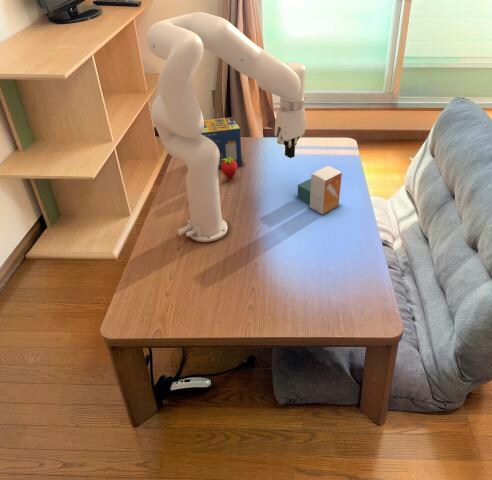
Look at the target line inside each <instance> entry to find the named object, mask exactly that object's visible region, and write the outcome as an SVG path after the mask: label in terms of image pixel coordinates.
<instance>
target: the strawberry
mask: <svg viewBox="0 0 492 480" xmlns="http://www.w3.org/2000/svg"><path fill="white" fill-rule="evenodd" d="M228 157H229V156H228ZM221 160H224V161H223V162H222V163H221V172H222V174H223V175H224V177H226V178H227V179H228V180H229V181H232V180H233V179H234V177H235V175H236V173H237V171H238V166H237V163H236V161H235V159H232V158H231V156H230V157H229V158H228V159H226V158H224V159H221Z"/></svg>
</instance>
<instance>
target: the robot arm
mask: <svg viewBox="0 0 492 480" xmlns="http://www.w3.org/2000/svg"><path fill="white" fill-rule="evenodd" d="M145 39H146V40H145V41H146V46H147V47H148V50H149V51H150V53H152V54H153V55H154V56H155V57H157V58H159V59H162V60H164V64H163V66H162V68H161V71H160V73H159V76H158V79H157V88H158V93H159V94H158V96H157V97H156V98H155V99H154V100H153V103H152V105H151V119H152V122H153V125H154V127H155V129H156V132H157V133H158V136H159V138H160V141H161V143H162V145H163V148H164V149H165V151H166V152H167V154H168V155H169V156H171V157H172V158H174V159H175V160H177V161H179V162H180V163H182V164H183V165H185V166H186V168H187V174H186V176H185V190H186V196H187V204H188V213H189V218H190V219H188V220H187V224H185V226H184V227H180V228H178V229H177V230H176V232H177V234H178V236H182V235H184V234H185V236H186V237H187V238H190V239H192V240H193V241H196V242H202V243H209V242H213V241H214V242H215V241H217V240H220V239H222V238H223V237H225V236H226V234H227V232H228V230H229V229H228V223H227V221H226V220H225V219H223V217H222V204H221V194H220V181H219V169H218V167H219V160H220V152H219V149H218V147H217V145H216V144H215V143H214V142H213V141H212V140H210V139H209V138H207V137H205V136H203V135H201V133H202V131H203V129H204V115H203V113H202V109H201V107H200V104H199V100H198V98H197V95H196V92H195V88H194V84H193V81H194V80H193V79H194V75H195V73H196V72H197V71H196V70H197V69H198V67H199V66H200V63H201V62H202V59H203V57H204V50H207V51H209V52H211V53H213V55H215V56H217V58H219V59H221V60H223V61H224V62H225V63H226V64H228V65H229V66H230V67H232V68H233V69H234V70H236V71H237V72H239V73H241V74H242V75H244V76H246V77H248V78H251V79H253V80H255V82H256V85H257V86H258V88H260V89H261V90H262V91H264V92H267V93H270V94H271V95H275V96H277V97H279V107H278V108H277V111H276V114H275V123H274V137H275V138H277V140H276V143H277V144H278V145H283V146H284V157H287V158H289V159H292V158H295V155H296V152H295V151H296V146H298V145H297V144H298V141H299V139H301V138H302V137H304V134H305V132H306V109H305V106H304V105H305V101H306V97H305V91H306V90H305V88H306V72H307V68H306V67H305V65H304V64H303V63H301V62H298V61H289V62H285V63H284V62H282V61H281V60H280V59H279V58H277V57H275V56H274V55H272V54H271V53H269V52H268V51H266V50H265V49H264V48H262V47H260V46H259V45H257V44H256V43H254V42H253V41H252V40H251V39H250V38H249V37H247V36H246V35H245V34H244V33H243V32H242V31H240V29H238V28H237V27H236V26H234V25H233V23H231V22H230V21H229V20H227V19H225V18H224V17H221V16H218V15H214V14H211V13H208V12H203V11H196V12H190V13H186V14H182V15H178V16H174V17H170V18H167V19H162V20H159V21H157V22H155V23H154V24H152V25H151V26H150V27H149V29H148V31H147V33H146V38H145Z"/></svg>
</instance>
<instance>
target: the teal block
mask: <svg viewBox="0 0 492 480" xmlns="http://www.w3.org/2000/svg"><path fill="white" fill-rule="evenodd" d="M310 191H311V178H309V179H306V180H305V181H303V182H301V183H299V184H297V198H298V199H300V200H302V201H303V202H305V203H307V204H309V205H310Z"/></svg>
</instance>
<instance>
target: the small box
mask: <svg viewBox="0 0 492 480" xmlns="http://www.w3.org/2000/svg"><path fill="white" fill-rule="evenodd" d="M310 174H311V175H310V179H311V191H310V204H309V209H310V208H311V209H312V210H314V211H316V212H317V213H319V214H321V215H324V214H326V213H328V212H330V211H332V210H334V209H335V208H338V207H339V205H340V196H341V186H342V176H343V172H342V171H340V170H338V169H336V168H334V167H332V166H330V165H326V166H324V167H322V168H320V169H318V170H316V171H314V172H312V173H310Z"/></svg>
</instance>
